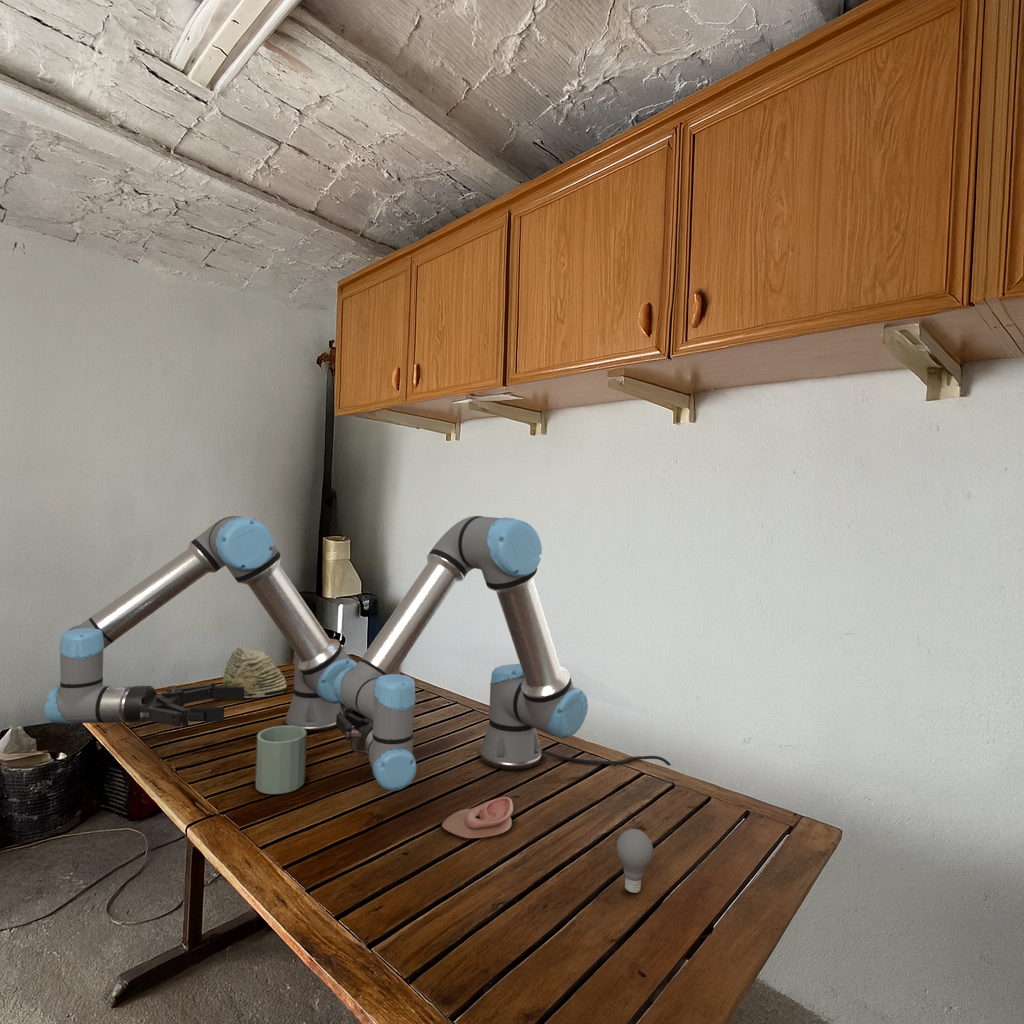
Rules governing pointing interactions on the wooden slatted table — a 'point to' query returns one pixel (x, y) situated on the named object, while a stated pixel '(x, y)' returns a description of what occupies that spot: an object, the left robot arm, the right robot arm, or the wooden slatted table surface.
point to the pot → (280, 759)
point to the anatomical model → (481, 819)
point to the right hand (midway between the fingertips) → (367, 706)
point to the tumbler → (356, 742)
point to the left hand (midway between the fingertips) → (234, 703)
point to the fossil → (253, 673)
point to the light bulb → (634, 857)
